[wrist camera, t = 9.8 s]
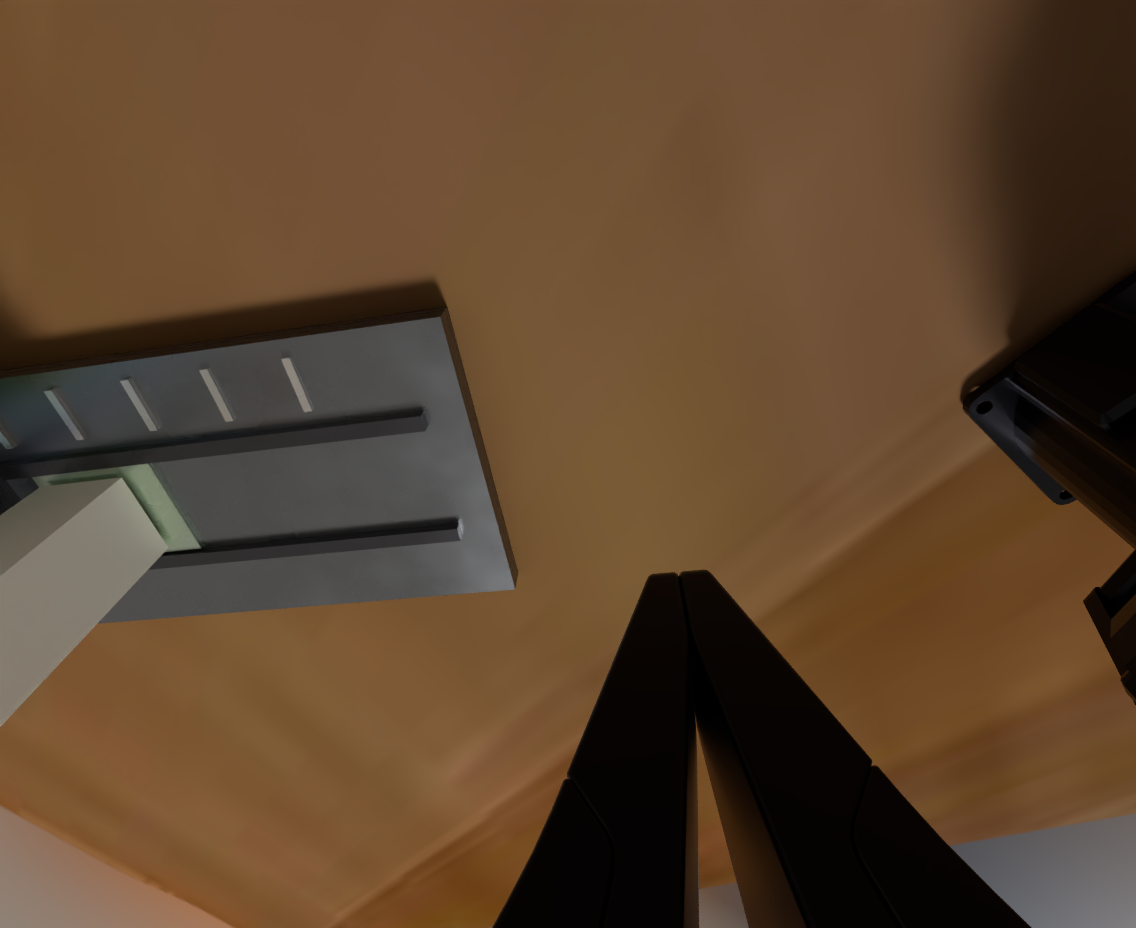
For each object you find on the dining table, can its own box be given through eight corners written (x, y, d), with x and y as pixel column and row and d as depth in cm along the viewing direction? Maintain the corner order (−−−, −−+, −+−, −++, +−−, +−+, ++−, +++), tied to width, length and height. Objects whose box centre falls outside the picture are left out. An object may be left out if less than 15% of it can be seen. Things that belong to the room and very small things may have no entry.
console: (447, 307, 20) (427, 334, 18) (518, 573, 26) (510, 617, 24) (-67, 380, 22) (-140, 412, 20) (112, 607, 28) (71, 651, 26)
